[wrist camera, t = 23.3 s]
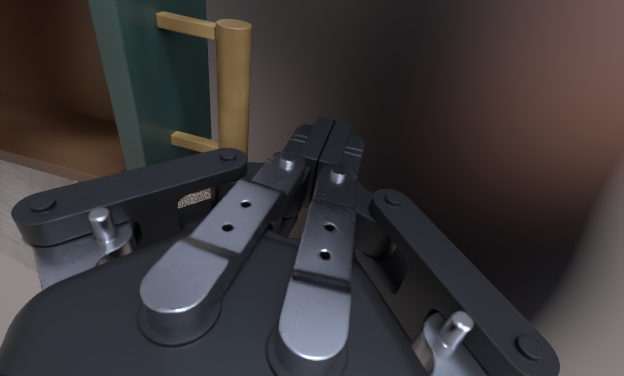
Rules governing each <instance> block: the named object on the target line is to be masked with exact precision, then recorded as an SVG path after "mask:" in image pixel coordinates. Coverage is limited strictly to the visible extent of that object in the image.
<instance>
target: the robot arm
mask: <svg viewBox="0 0 624 376" xmlns="http://www.w3.org/2000/svg"><path fill="white" fill-rule="evenodd" d="M351 128H352V124H350V123H346V122H342V121H338V120H336V122H335V120H333V119H329V118H325V117H321V116H319V117H318V119H317V120H316V122H315V124H314V126H312V125H307V124H304V125H302V126H300V127H298V128H297V129H296V131H295V132H294V134H293V135H292V137H291V139H290V140H289V142H288V143H287V145H286V147H285V148H284V150H283V151H282V152H278V153H275V154H273V155H272V156H271V157H270V158H269V159H268V160H267V161H266V163H253V162H248V158H247V155H246V154H245V153H244V152H243V151H241V150H238V149H235V148H220V149H216V150H212V151H208V152H203V153H199V154H195V155H191V156H187V157H183V158H179V159H175V160H171V161H166V162H162V163H158V164H154V165H150V166H146V167H142V168H138V169H134V170H129V171H125V172H121V173H117V174H113V175H109V176H105V177H101V178H97V179H92V180H88V181H84V182H80V183H76V184H72V185H68V186H64V187H60V188H55V189H51V190H47V191H43V192H39V193H36V194H33V195H30V196H28V197H26V198H24V199H22V200H21V201H19V202H18V203H17V204H16V205H15V206H14V207H13V209H12V212H11V215H12V218H13V220H14V221H15V223H16V225H17V227H18V229H19V231H20V233H21V235H22V240H23V242H24V244H25V246H26V248H27V250H28V251H29V253H30V255H31V257H32V259H33V261H34V262H35V264H36V266H37V270H38V274H39V279H40V283H41V288H42V291H41V292H40V293H38V294H37V295H36V296H34V297H33V298H32V299H31V300H30V301H29V302H28V303H27V304H26V305H25V306H24V307H23V308H22V309H21V310H20V311H19V312H18V314H17V315H16V316H15V318H14V319H13V321H12V323H11V324H10V326H9V328H8V331H7V333H6V335H5V338H4V340H3V343H2V345H1V348H0V376H558V374H559V371H560V363H559V360H558V357H557V355H556V353H555V351H554V349H553V348H552V347H551V345H550V344H549V343H548V342H547V341H546V339H545V338H544V337H543V336H541V334H540V333H539V332H538V331H537V330H536V329H535V328H534V327H533V326H532V325H531V324H530V323H529V322H528V321H527V320H526V319H525V318H524V317H523V316H522V315H521V314H520V313H519V312H518V311H517V309H516V308H515V307H514V306H513V305H511V303H510V302H509V301H508V300H507V299H506V298H505V297H504V296H503V295H502V294H501V293H500V292H499V291H498V290H497V289H496V288H495V287H494V286H493V285H492V284H491V283H490V282H489V281H488V280H487V279H486V277H485V276H484V275H483V274H482V273H481V272H480V271H478V269H477V268H476V267H475V266H474V265H473V264H472V263H471V262H470V261H469V260H468V259H467V258H466V257H465V256H464V255H463V254H462V253H461V252H460V251H459V250H458V249H457V248H456V247H455V245H453V243H452V242H451V241H450V240H449V239H448V238H447V237H446V236H445V235H444V234H443V233H442V232H441V231H440V230H439V229H438V228H437V227H436V226H435V225H434V224H433V223H432V222H431V221H430V220H429V219H428V218H427V217H426V216H425V215H424V213H423V212H422V211H420V209H419V208H418V207H417V206H416V205H415V204H414V203H413V202H412V201H411V200H410V199H409V198H408V197H407V196H406V195H404V194H402V193H401V192H398V191H395V190H392V189H381V190H378V191H376V192H375V193H374V194H373V193H371V192H369V191H368V190H366V189H364V188H363V187H362V186H361V185H360V184H359V182H358V180H357V174H358V170H359V165H360V161H361V156H362V153H363V148H364V142H363V140H362V139H361V137H357V136H353V135H350V132H351ZM208 188H210V191H211V198H210V199H207V200H204V201H201V202H198V203H195V204H191V205H188V206H185V207H182V208H179V209H178V202H179V201H180V199H181V198H183V197H184V196H186V195H189V194H192V193H195V192H199V191H202V190H205V189H208ZM309 205H310V207H309ZM301 207H305V208H308V207H309V211H308V214H307V218H306V222H305V226H304V230H303V233H302V237H301V239H297V238H288V236H289V234H290V232H291V230H292V229H293V227H294V225H295V223H296V221H297V218H298V213H299V212H300V210H301ZM396 246H397V247H398V249H399V250H400V251H401V252H402V253H403V255H404V256H405V258H406V260H407V262H406V261H405V260H404V258H403V257H402V256H401V255H400V253H399V252H398V251H397V250H396ZM353 247H354V248H356V251H355V254H356V257H357V258H358V260H359V262H360V263H361V265H362V266H363V268H364V269H365V271H366V272H367V274H368V275H369V277H370V278H371V280H372V281H373V283H374V284H375V286H376V287H377V289H378V290H379V292H380V293H381V294H382V296H383V297H384V299H385V300H386V302H387V303H388V305H389V306H390V308H391V309H392V311H393V312H394V314H395V315H396V317H397V318H398V320H399V321H400V323H401V324H402V325H403V327H404V329H405V330H406V332H407V333H408V335H409V336H410V338H411V339H412V341H413V342H412V345H410V344H409V342H408V340H407V339H406V337H405V336H404V334H403V332H402V331H401V329H400V328H399V326H398V324H397V323H396V321H395V320H394V318H393V316H392V315H391V313H390V311H389V310H388V308H387V307H386V305H385V303H384V302H383V300H382V299H381V297H380V295H379V294H378V292H377V290H376V289H375V287H374V286H373V284H372V282H371V281H370V279H369V278H368V277H367V276H366V274H364V272H363V271H362V270H361V269H360V268H358V267H357V266H356V265H355V264H354V263H352V257H353Z"/></svg>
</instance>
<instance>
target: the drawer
mask: <svg viewBox="0 0 624 376" xmlns="http://www.w3.org/2000/svg"><path fill="white" fill-rule="evenodd" d="M251 38H252V25H251V24H249V23H247V22H245V21H241V20H235V19H221V20H218V21H216V23H213V22H209V21H206V0H0V159H1V160H4V161H8V162H11V163H15V164H18V165H22V166H25V167H29V168H32V169H36V170H40V171H43V172H47V173H50V174H54V175H57V176H61V177H64V178H68V179H71V180H75V181H78V182H84V181H88V180H92V179H97V178H101V177H105V176H109V175H113V174H117V173H121V172H125V171H129V170H134V169H138V168H142V167H146V166H150V165H154V164H158V163H162V162H166V161H171V160H175V159H179V158H183V157H187V156H191V155H195V154H199V153H203V152H208V151H212V150H216V149H220V148H235V149H238V150H241V151H243V152H244V153H245V154H246V155H247V158H248V131H249V129H248V128H249V100H250V70H251V40H252V39H251ZM207 39H210V40H216V51H217V52H216V53H217V89H218V127H219V142H218V141H214V140H212V139H211V117H210V93H209V71H208V70H209V69H208V46H207Z"/></svg>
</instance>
